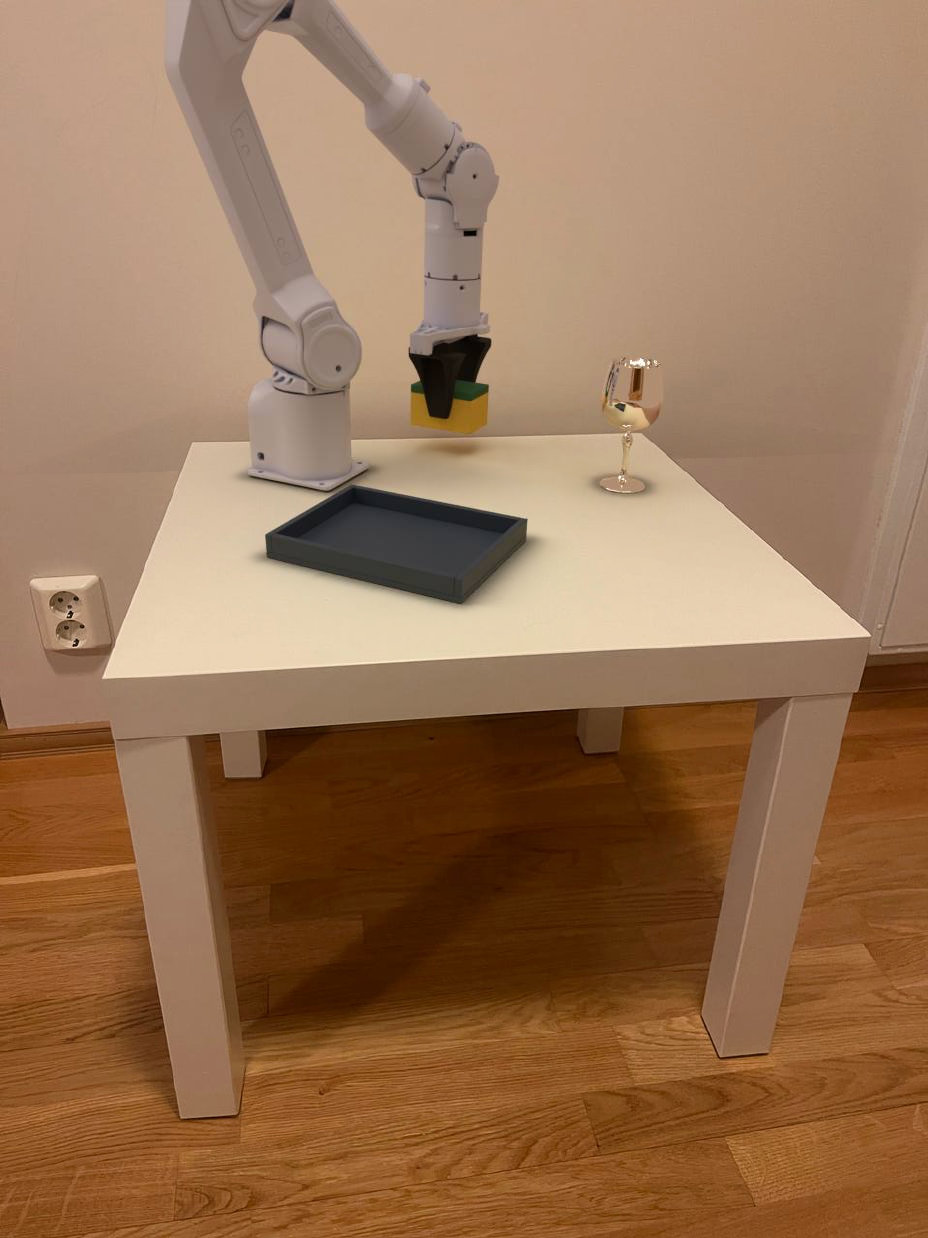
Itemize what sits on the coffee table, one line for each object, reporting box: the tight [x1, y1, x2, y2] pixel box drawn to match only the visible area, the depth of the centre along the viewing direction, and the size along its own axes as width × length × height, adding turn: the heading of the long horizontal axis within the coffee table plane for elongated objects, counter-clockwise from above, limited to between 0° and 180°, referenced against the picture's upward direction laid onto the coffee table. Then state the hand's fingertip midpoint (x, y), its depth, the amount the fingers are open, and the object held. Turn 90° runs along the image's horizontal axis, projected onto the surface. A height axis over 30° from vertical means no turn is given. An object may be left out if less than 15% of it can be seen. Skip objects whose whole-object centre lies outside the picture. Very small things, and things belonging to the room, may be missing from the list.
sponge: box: [410, 380, 490, 435], centre depth 96 cm, size 7×4×4 cm, turn 65°
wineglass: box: [599, 356, 665, 494], centre depth 87 cm, size 6×6×12 cm
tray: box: [264, 484, 528, 605], centre depth 74 cm, size 17×13×2 cm
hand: (449, 411), depth 97 cm, fingers closed on sponge, 4 cm apart
